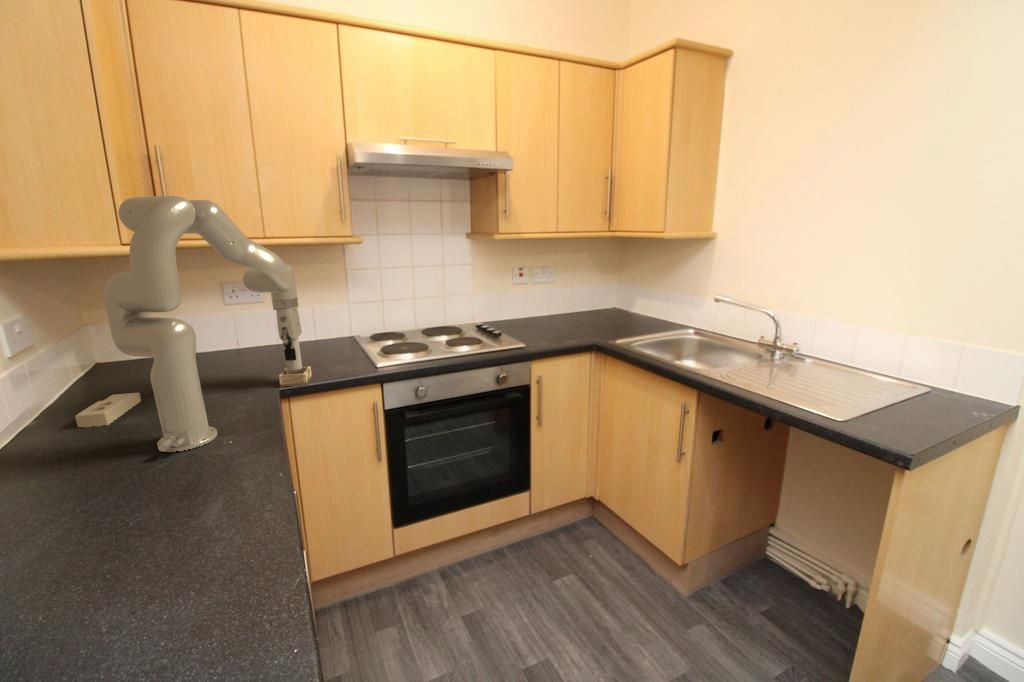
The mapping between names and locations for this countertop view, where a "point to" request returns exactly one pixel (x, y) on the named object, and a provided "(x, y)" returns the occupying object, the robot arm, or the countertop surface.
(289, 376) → the can holder block
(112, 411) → the electrical outlet
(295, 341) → the beverage can
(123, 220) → the robot arm
